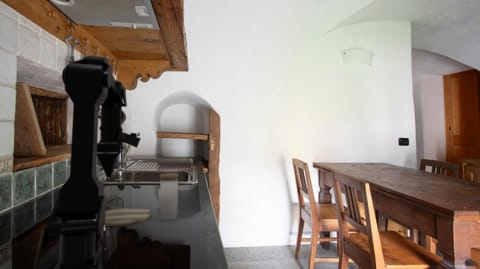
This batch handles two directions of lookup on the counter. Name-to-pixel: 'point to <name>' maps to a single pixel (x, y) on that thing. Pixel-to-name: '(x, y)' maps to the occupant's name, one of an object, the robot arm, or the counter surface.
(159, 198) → the grey upright block
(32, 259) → the counter surface
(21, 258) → the counter surface
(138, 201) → the counter surface
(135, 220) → the wooden board
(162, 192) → the translucent tall glass
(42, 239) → the counter surface
